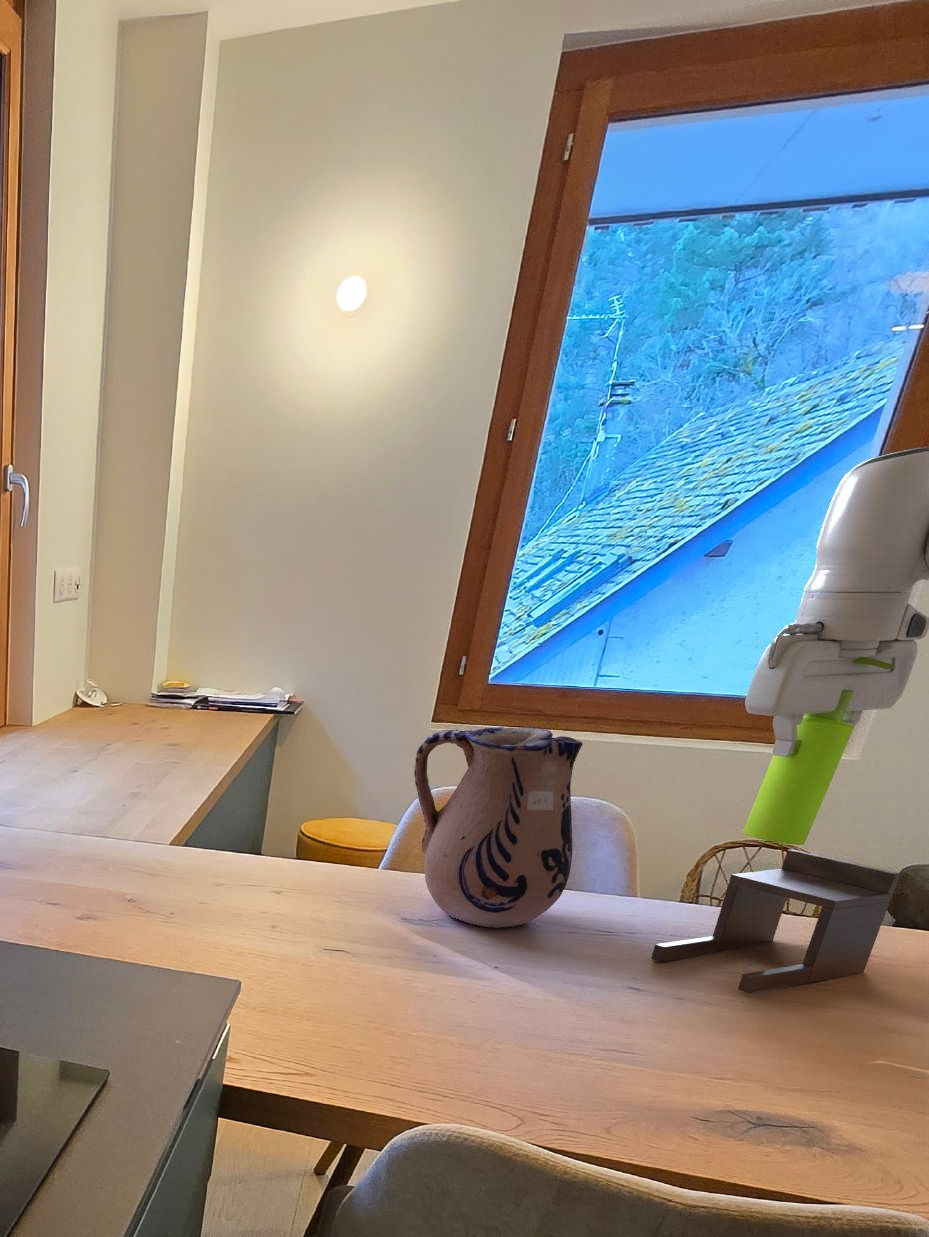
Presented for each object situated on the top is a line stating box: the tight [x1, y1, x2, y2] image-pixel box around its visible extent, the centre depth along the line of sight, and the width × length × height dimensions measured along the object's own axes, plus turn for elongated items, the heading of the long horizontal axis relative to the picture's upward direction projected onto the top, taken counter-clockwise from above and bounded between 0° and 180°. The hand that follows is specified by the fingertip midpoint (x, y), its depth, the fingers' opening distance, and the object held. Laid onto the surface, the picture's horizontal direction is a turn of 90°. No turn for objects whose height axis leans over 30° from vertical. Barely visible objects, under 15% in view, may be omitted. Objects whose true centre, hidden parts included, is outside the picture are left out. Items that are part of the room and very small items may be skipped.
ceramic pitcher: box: [414, 726, 583, 929], centre depth 138 cm, size 18×21×25 cm
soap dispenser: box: [742, 657, 894, 846], centre depth 114 cm, size 6×7×20 cm
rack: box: [650, 848, 901, 994], centre depth 124 cm, size 12×20×12 cm, turn 110°
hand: (806, 754), depth 115 cm, fingers closed on soap dispenser, 6 cm apart
